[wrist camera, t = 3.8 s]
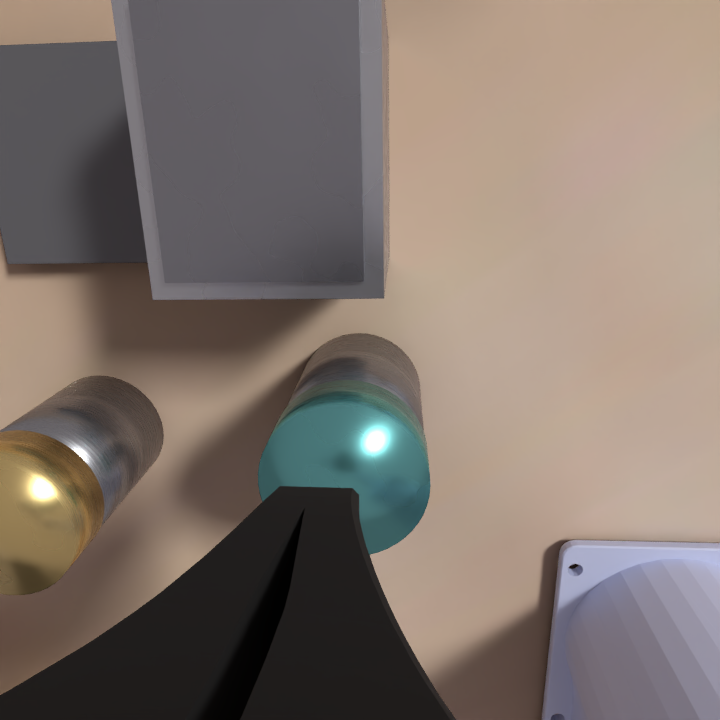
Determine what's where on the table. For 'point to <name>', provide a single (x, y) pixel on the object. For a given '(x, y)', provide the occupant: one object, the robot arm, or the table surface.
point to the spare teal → (356, 435)
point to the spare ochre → (69, 475)
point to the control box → (259, 145)
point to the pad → (66, 156)
